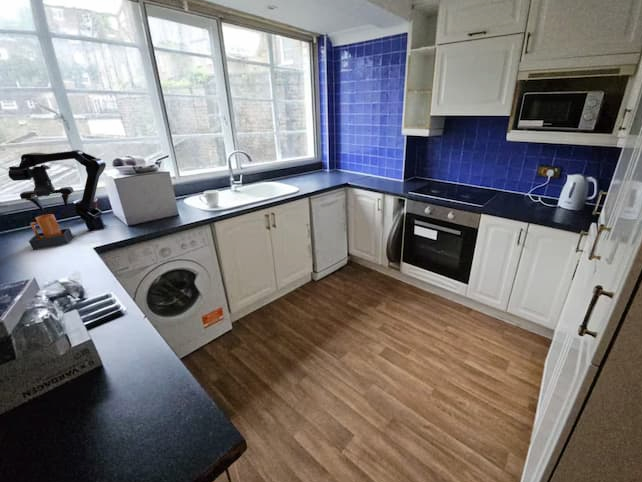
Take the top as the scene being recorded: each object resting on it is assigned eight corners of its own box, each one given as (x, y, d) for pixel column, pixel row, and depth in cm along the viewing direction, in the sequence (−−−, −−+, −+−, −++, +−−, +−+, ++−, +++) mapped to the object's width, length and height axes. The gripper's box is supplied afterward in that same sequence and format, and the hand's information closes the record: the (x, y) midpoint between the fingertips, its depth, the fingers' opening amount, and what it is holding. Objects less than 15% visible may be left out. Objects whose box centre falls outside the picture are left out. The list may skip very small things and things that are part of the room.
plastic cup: (91, 222, 171) (82, 202, 166) (76, 221, 173) (67, 202, 168) (109, 216, 180) (101, 197, 176) (95, 215, 183) (87, 197, 178)
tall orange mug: (66, 237, 149) (55, 213, 143) (63, 241, 144) (51, 216, 139) (42, 241, 144) (30, 217, 139) (38, 246, 140) (25, 220, 134)
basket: (73, 236, 152) (69, 228, 150) (67, 243, 143) (63, 235, 141) (40, 241, 146) (36, 233, 144) (33, 250, 137) (28, 241, 135)
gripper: (8, 184, 136) (24, 216, 142) (62, 179, 145) (74, 209, 151) (17, 180, 145) (32, 210, 151) (67, 175, 154) (79, 204, 160)
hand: (55, 208), depth 153 cm, fingers open, 9 cm apart
